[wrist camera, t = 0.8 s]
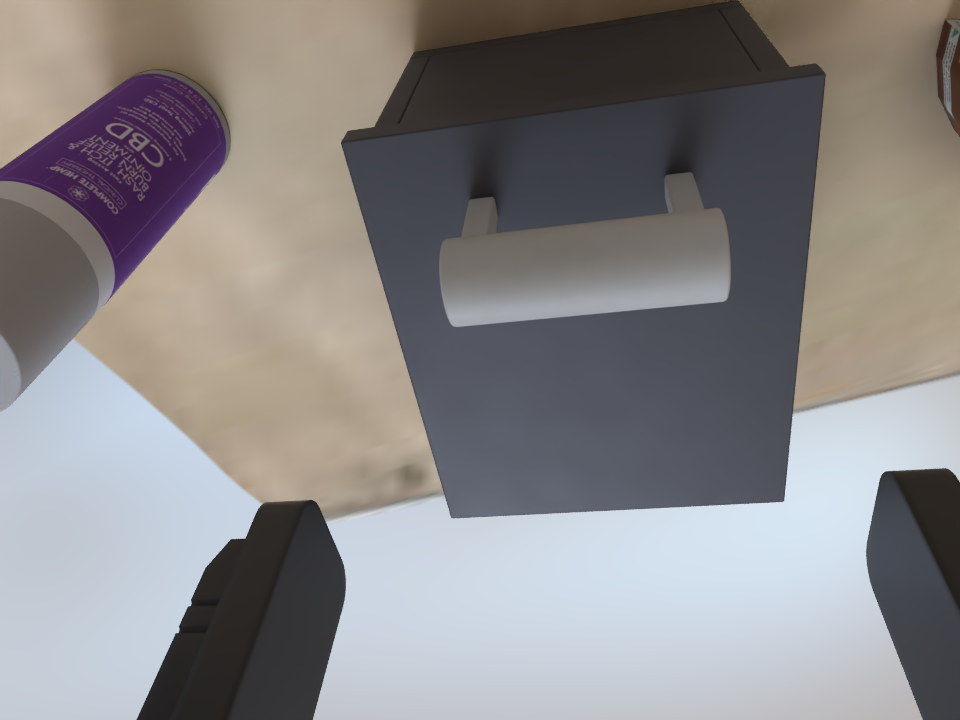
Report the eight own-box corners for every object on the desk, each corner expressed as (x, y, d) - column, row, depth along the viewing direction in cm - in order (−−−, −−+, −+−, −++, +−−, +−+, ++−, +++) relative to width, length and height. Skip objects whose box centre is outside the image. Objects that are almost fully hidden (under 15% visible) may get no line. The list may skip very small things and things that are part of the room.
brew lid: (346, 130, 20) (288, 228, 15) (817, 62, 18) (897, 153, 13) (453, 502, 28) (434, 631, 24) (779, 484, 26) (820, 622, 22)
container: (235, 89, 29) (15, 302, 18) (227, 195, 32) (34, 439, 20) (113, 53, 29) (-196, 246, 17) (116, 164, 32) (-146, 395, 20)
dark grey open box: (412, 52, 28) (355, 158, 20) (738, -1, 26) (813, 95, 18) (477, 345, 36) (453, 501, 28) (729, 322, 34) (778, 483, 26)
